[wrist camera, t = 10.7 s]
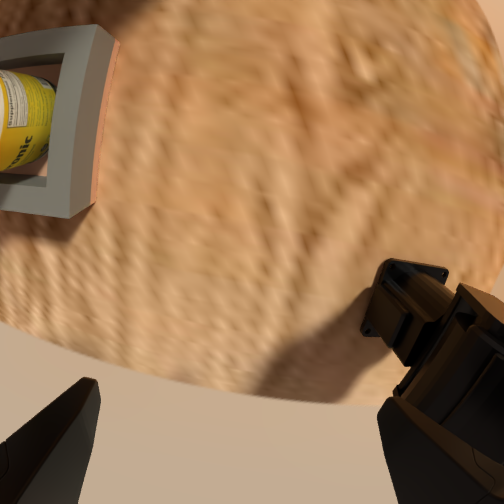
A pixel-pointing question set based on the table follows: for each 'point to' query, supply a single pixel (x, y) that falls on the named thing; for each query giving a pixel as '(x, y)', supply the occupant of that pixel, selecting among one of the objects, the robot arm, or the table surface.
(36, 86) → the supplement bottle
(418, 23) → the table surface
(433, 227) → the table surface
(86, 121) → the socket block
